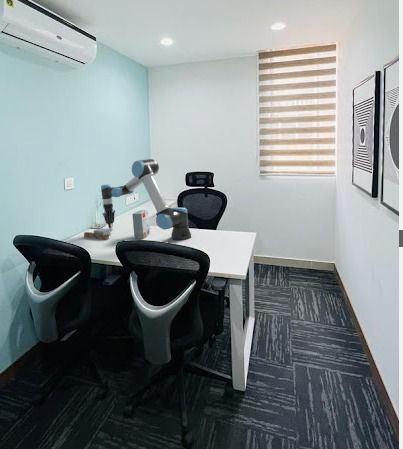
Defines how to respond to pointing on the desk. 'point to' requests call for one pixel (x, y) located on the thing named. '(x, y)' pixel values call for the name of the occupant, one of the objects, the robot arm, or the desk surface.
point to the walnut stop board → (96, 235)
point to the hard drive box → (141, 224)
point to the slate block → (103, 231)
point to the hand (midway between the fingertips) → (111, 231)
